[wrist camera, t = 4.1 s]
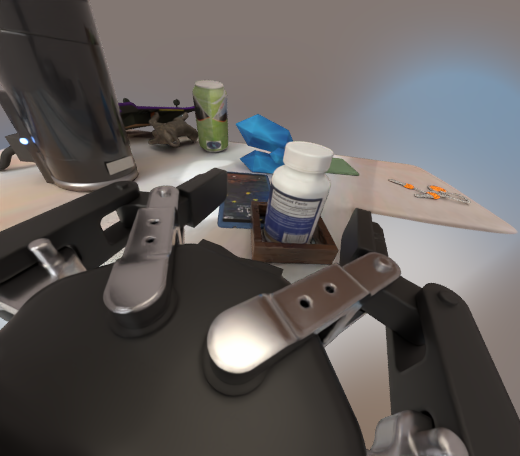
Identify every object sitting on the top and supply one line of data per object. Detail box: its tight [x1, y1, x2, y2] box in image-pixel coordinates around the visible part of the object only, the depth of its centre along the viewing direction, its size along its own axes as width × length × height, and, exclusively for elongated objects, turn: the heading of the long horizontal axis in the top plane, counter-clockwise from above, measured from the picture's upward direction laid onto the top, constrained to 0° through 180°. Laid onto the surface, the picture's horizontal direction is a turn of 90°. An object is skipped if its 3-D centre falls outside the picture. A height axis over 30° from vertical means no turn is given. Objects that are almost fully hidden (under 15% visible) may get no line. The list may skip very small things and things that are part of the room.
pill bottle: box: [263, 141, 334, 244], centre depth 19 cm, size 5×5×10 cm
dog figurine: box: [148, 112, 198, 147], centre depth 41 cm, size 12×6×7 cm
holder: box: [250, 201, 338, 264], centre depth 22 cm, size 8×8×2 cm
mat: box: [324, 158, 359, 176], centre depth 43 cm, size 10×9×1 cm
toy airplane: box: [118, 98, 195, 130], centre depth 42 cm, size 23×26×5 cm
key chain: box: [389, 179, 471, 203], centre depth 38 cm, size 13×7×1 cm, turn 80°
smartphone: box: [218, 172, 271, 229], centre depth 28 cm, size 8×1×15 cm
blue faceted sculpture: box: [236, 114, 293, 174], centre depth 34 cm, size 7×9×12 cm
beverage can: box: [193, 80, 228, 152], centre depth 39 cm, size 6×7×12 cm
